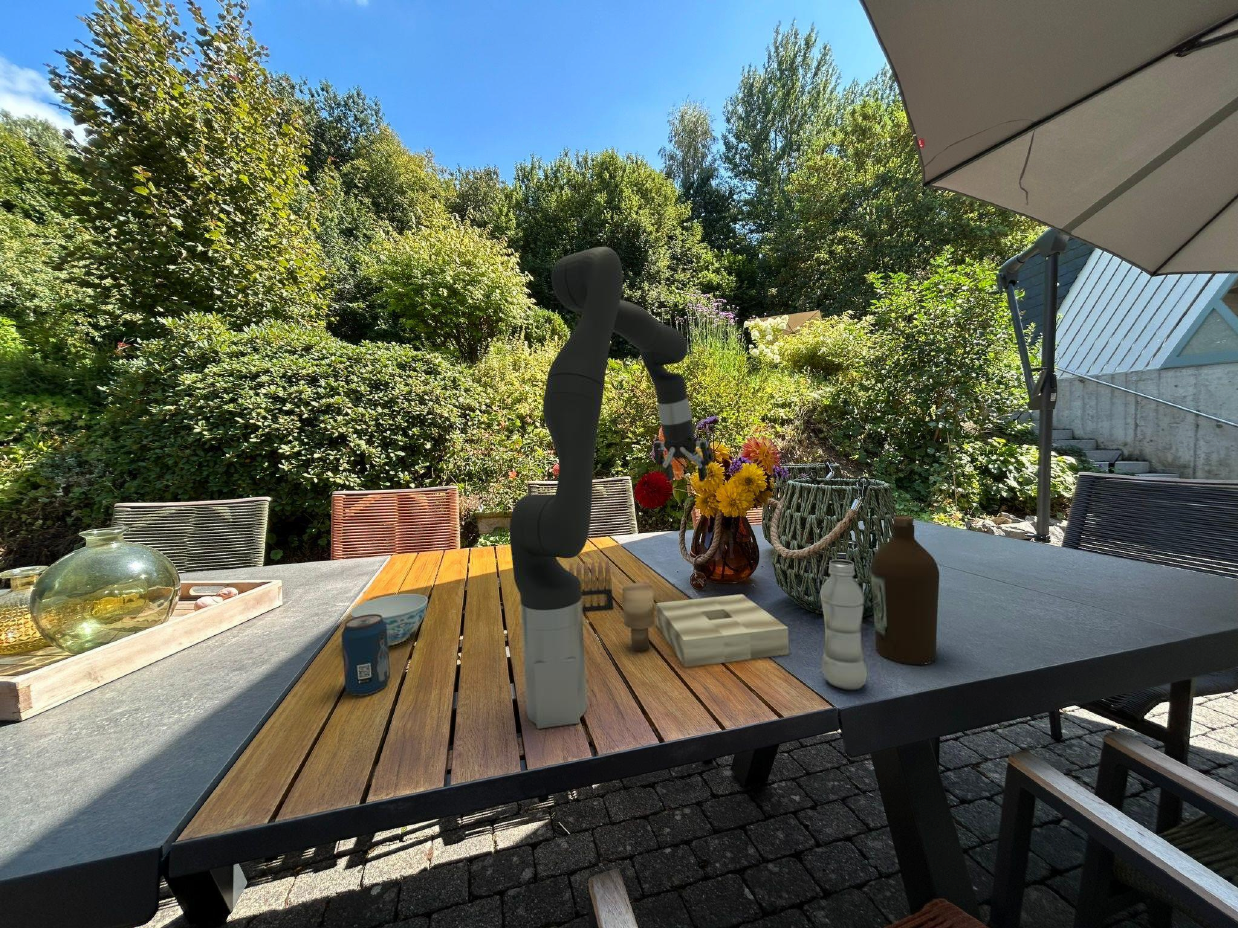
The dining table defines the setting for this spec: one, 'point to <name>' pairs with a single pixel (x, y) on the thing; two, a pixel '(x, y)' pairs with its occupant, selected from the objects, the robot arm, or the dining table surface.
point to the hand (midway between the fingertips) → (686, 479)
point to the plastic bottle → (843, 627)
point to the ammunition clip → (595, 587)
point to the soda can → (365, 654)
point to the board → (720, 630)
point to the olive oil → (905, 597)
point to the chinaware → (396, 613)
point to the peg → (638, 613)
